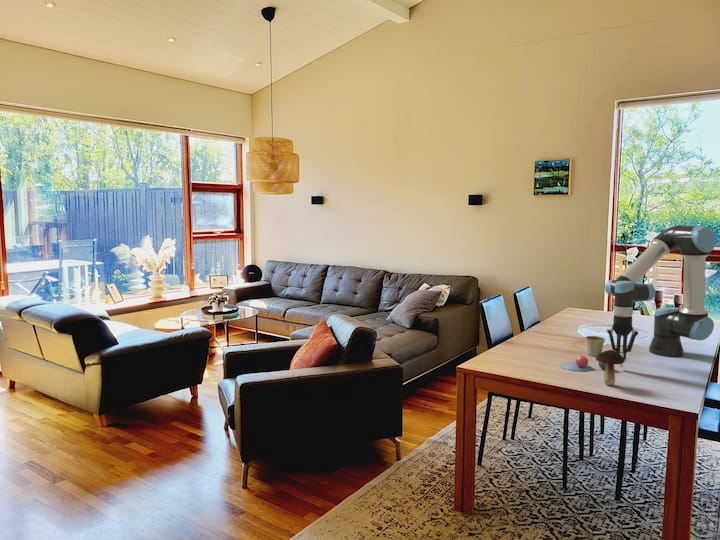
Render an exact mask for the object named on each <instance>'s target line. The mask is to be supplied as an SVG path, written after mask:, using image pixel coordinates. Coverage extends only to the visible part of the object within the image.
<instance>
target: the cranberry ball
mask: <svg viewBox="0 0 720 540" xmlns="http://www.w3.org/2000/svg"><path fill="white" fill-rule="evenodd" d="M574 362H576V365H577V366H578V367H581V368H584V367H586V366H587V365H589V359H588V358H587V357H586V356H585V355H579V356H577V357H576V359H575V360H574Z"/></svg>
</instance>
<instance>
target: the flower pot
mask: <svg viewBox="0 0 720 540" xmlns="http://www.w3.org/2000/svg"><path fill="white" fill-rule="evenodd" d="M584 338H585V339H584V340H585V342H586V349H587V351H586V352H587V355H589V356H591V357H597V355H598V354H600V353H602V352H603V346H604V343H605V341H606V338H604V337H602V336H595V335H588V336H587V335H586V336H584Z"/></svg>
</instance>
